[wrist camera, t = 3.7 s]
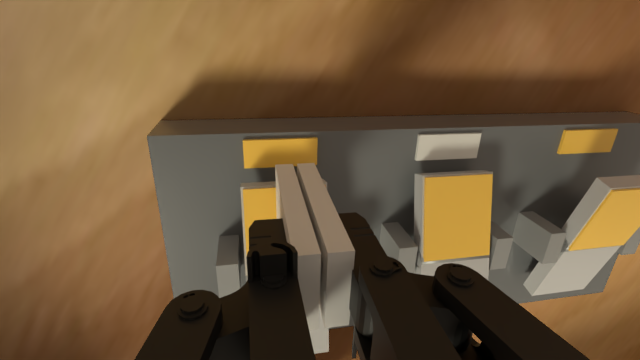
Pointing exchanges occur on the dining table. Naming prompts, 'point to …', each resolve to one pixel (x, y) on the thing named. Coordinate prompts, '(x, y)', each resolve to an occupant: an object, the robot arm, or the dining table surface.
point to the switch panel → (389, 183)
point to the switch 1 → (262, 206)
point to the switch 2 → (452, 220)
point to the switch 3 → (591, 235)
